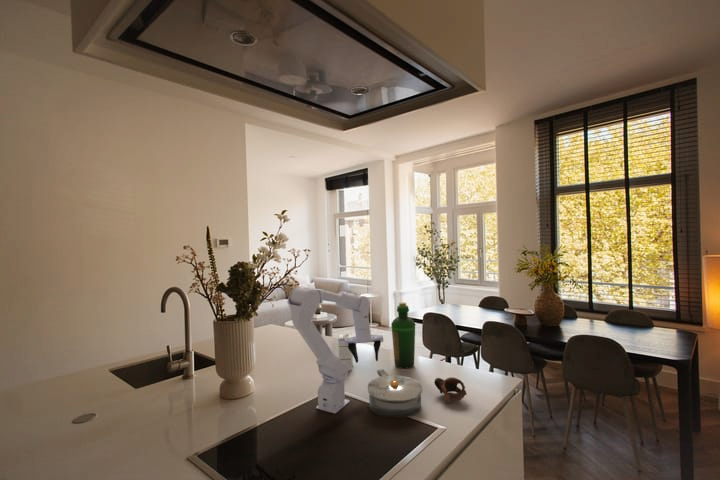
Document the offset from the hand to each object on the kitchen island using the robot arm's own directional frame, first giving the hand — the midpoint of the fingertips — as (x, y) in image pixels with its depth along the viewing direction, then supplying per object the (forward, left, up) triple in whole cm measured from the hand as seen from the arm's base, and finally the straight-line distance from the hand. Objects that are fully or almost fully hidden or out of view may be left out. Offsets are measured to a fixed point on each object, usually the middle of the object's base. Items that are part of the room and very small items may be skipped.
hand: (367, 360), depth 131 cm
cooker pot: (-4, -14, -11) cm, 18 cm away
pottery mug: (+6, -30, -11) cm, 32 cm away
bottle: (+28, -4, -11) cm, 30 cm away
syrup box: (+14, +18, -11) cm, 26 cm away
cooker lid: (-5, -12, -5) cm, 14 cm away
